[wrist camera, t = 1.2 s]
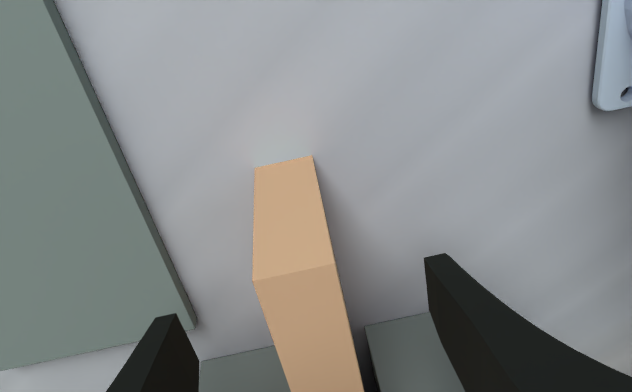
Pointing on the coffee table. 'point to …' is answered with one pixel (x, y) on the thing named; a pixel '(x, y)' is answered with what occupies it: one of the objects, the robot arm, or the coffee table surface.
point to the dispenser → (386, 355)
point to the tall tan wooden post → (301, 280)
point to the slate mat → (68, 207)
